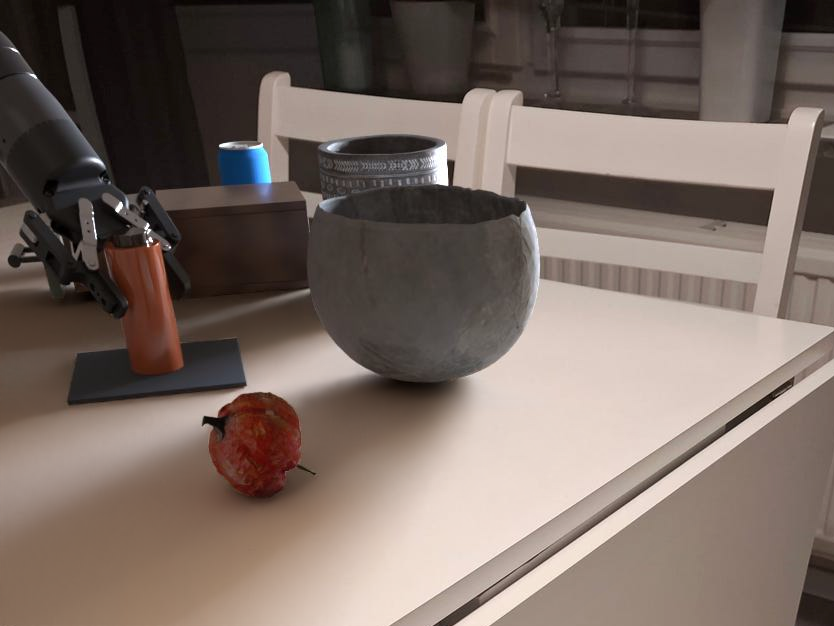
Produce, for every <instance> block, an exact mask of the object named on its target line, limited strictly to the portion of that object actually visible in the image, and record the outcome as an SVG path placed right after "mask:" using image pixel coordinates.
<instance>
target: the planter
mask: <svg viewBox="0 0 834 626" xmlns="http://www.w3.org/2000/svg"><path fill="white" fill-rule="evenodd" d="M447 156H448V155H447V142H446V141H445V140H443V139H441V138H438V137H432V136H427V135H420V134H412V133H411V134H410V133H409V134H408V133H386V134H374V135H362V136H352V137H346V138H339V139H333V140H328V141H324V142H322V143H321V144H319V145H318V146H317V159H318V168H319V181H320V187H321V188H320V189H321V199H322V201H324V200H327V199H330V198H335V197H341V196H346V195H349V194H351V193H353V192H361V191H364V190H368V189H372V188H379V187H385V186H403V185H429V184H441V185H449V175H448V164H447V163H448V160H447V159H448V158H447Z"/></svg>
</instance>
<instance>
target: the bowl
mask: <svg viewBox="0 0 834 626" xmlns="http://www.w3.org/2000/svg"><path fill="white" fill-rule="evenodd" d="M309 229H310V233H309V241H308V249H307V273H308V282H309V287H308V288H309V293H310V297H311V300H312V304H313V307H314V310H315V312H316V315H317V317H318V319H319V321H320V323H321V324H322V326H323V329H324V330H325V332H326V333H327V335H328V336H329V337H330V339H331V340H332V342H334V344H335V345H336V346H337V347H338V348H339V349H340V350H341V351H342V352H343V353H344V354H345V355H346V356H347V357H348V358H349V359H351V360H352V361H353V362H355V364H358V365H360V366H361V367H363V368H365V369H366V370H368V371H370V372H372V373H375V374H377V375H379V376H383V377H385V378H388V379H392V380H397V381H402V382H411V383H425V384H426V383H440V382H447V381H452V380H458V379H460V378H464V377H468V376H471V375H474V374H477V373H479V372H482V371H483V370H485V369H487V368H489V367H490V366H491V365H493V364H495V363H496V362H498V361H499V360H500V359H502V357H504V356H505V355H506V354H507V353H509V352H510V350H511V349H512V348H513V347H514V345H515V344H516V343H517V342H518V341H519V339H520V337H521V336H522V334H523V333H524V331H526V328H527V327H528V325H529V322H530V320H531V317H532V314H533V312H534V309H535V306H536V303H537V297H538V291H539V285H540V275H541V261H540V260H541V259H540V258H541V257H540V256H541V254H540V247H539V239H538V234H537V230H536V229H537V228H536V224H535V222H534V219H533V216H532V213H531V209H530V207H529V205H528V203H527V202H526V201H525V200H523V199H521V198H519V197H513V196H506V195H502V194H498V193H497V192H494V191H491V190H486V189H480V188H476V189H473V188H471V187H463V186H461V185H452V184H451V185H450V184H448V185H441V184H429V185H403V186H385V187H379V188H372V189H368V190H364V191H361V192H353V193H351V194H349V195H346V196H341V197H335V198H330V199H327V200H324V201H323V200H322V201H320V202H319V203H318V204H317V206H316V207H315V210H314V212H313V218H312V221H311V224H310V228H309Z"/></svg>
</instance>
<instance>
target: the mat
mask: <svg viewBox="0 0 834 626" xmlns="http://www.w3.org/2000/svg"><path fill="white" fill-rule="evenodd" d="M180 344H181V349H182V354H183V359H184V366H183V367H182V368H180V369H178V370H176V371H173V372H170V373H165V374H159V375H143V374H137V373H135V372H133V371H132V369H131V365H130V361H129V356H128V352H127V348H126V347H125V348H124V347H123V348H114V349H105V350H94V351H93V350H92V351H84V352H76V353H75V354H76V355H75V359H74V364H73V370H72V375H71V379H70V384H69V389H68V395H67V398H66V399H67V400H66V403H67V405H69V406H71V405H82V404H88V403H89V404H90V403H98V402H99V403H101V402H108V401H119V400H120V401H121V400H128V399H129V400H130V399H136V398H147V397H155V396H156V397H157V396H165V395H167V396H168V395H176V394H186V393H193V392H195V393H196V392H204V391H205V392H206V391H213V390H222V389H224V390H225V389H232V388H243V387H247V386H248V383H247V378H246V373H245V369H244V364H243V359H242V354H241V348H240V343H239V339H238V337H231V338H229V337H228V338H218V339H209V340H200V341H199V340H195V341H189V342H188V341H187V342H180Z"/></svg>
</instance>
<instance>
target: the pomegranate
mask: <svg viewBox="0 0 834 626" xmlns="http://www.w3.org/2000/svg"><path fill="white" fill-rule="evenodd" d="M300 423H301V422H300V418H299V415H298V413H297V412H296V410H295V408H294V407H293V406H292V405H291V404H289V402H288V401H287V400H286V399H285V398H283V397H281V396H278V395H277V394H274V393H272V392H270V391H268V392H264V391H254V392H247V393H246V392H245V393H241V394H239V395H238V396H237V397H235V398H234V399H233V400H232V401H231V402H228V403H226V404H224V405H222V406H221V407H220V409H218V411H217V416H209V415H203V417H202V421H201V427H204V426H205V425H209V426H211V427H212V429H211V431H210V432H209V435H208V441H207V443H208V444H207V449H208V453H209V457H210V460H211V463H212V466H214V468H215V470H216V472H217V474H219V475H220V476H221V477H222V478H224V480H225V481H227V483H228V484H229V485H230V486H231V487H232V488H233V489H234V490H235V491H237V492H239V493H240V494H242V495H244V496H248V497H249V498H250V497H251V498H272V497H273V496H275V495H277V494H279V493H280V492H282V491H283V490H284V488H285V486H286V482H287V474H286V473H287V472H289V471H292V470H295V469H296V468H297V469H298V470H301V471H303V472H306V473H308V474H310V475H312V476H316V475H317V472H315V471H312V470H311V469H309V468H307V467H305V466H304V465H301V464H299V463H300V462H301V459H302V451H301V446H302V443H303V440H302V439H303V438H302V437H303V436H302V430H301V424H300Z"/></svg>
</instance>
